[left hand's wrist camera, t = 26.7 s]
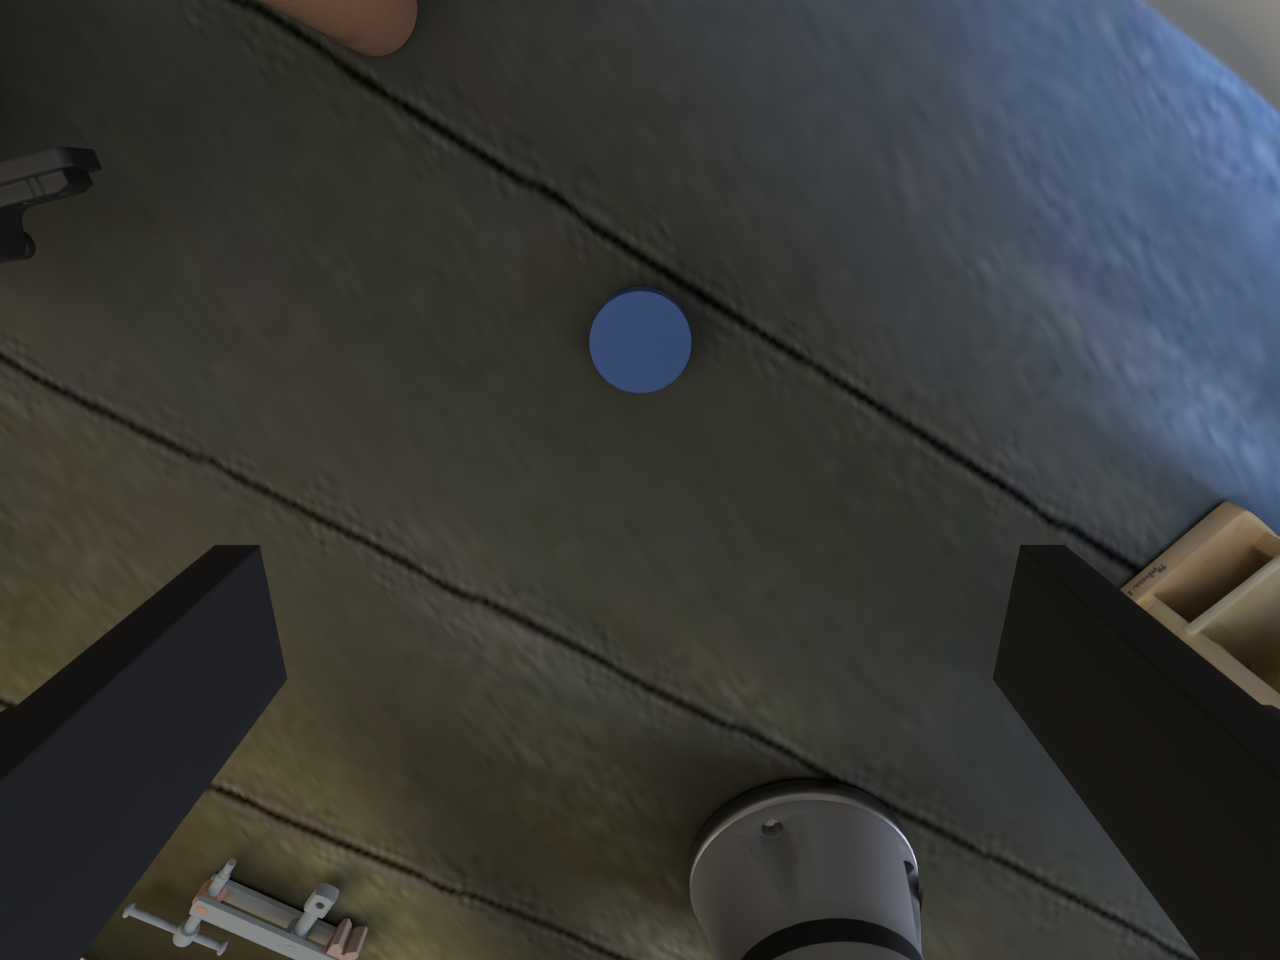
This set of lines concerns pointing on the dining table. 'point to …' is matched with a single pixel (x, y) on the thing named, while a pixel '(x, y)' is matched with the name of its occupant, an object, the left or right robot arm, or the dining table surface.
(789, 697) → the dining table surface
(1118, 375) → the dining table surface
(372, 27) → the jar
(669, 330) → the lid
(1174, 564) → the pounding bench toy
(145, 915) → the clamp
